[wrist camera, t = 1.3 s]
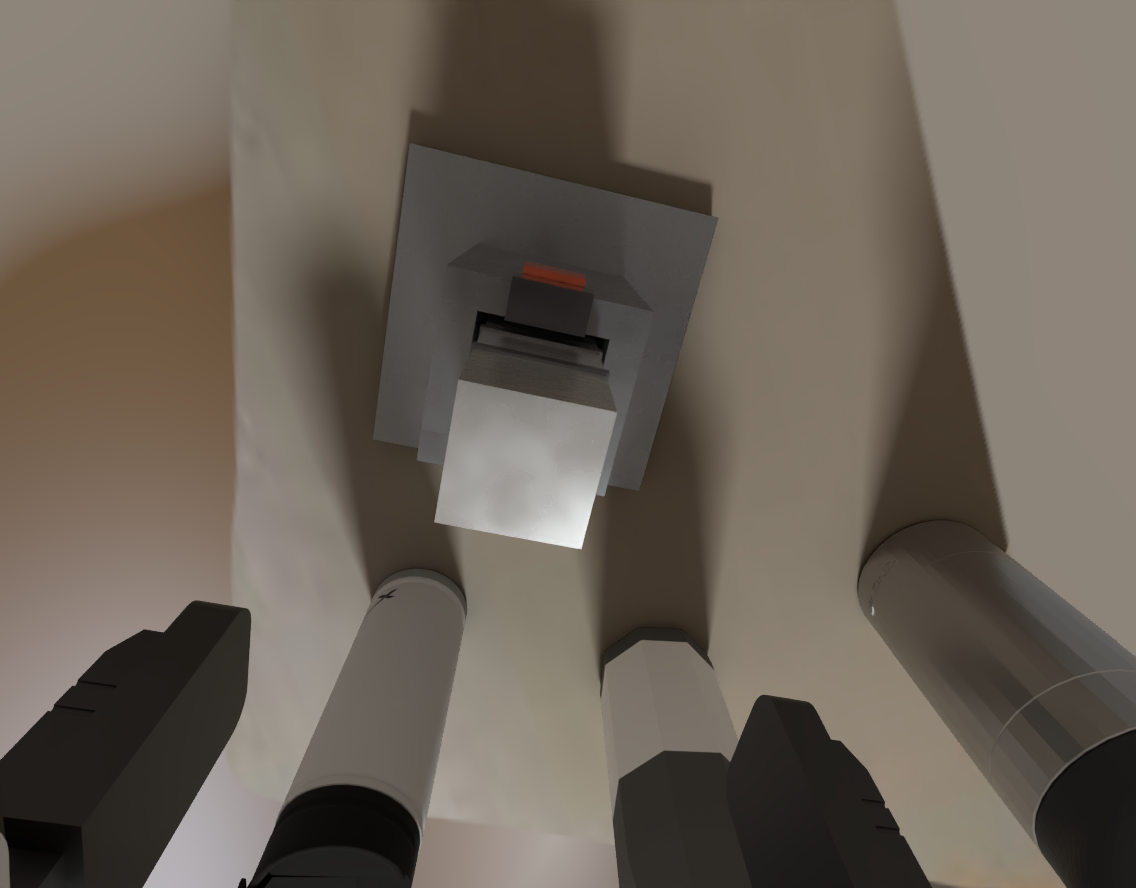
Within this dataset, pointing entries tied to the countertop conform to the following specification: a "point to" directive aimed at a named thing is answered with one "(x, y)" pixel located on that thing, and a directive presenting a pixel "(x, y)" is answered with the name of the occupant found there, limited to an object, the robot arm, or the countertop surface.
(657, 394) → the stepped pedestal base
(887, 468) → the countertop surface
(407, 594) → the travel mug
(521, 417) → the block
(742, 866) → the wine bottle
